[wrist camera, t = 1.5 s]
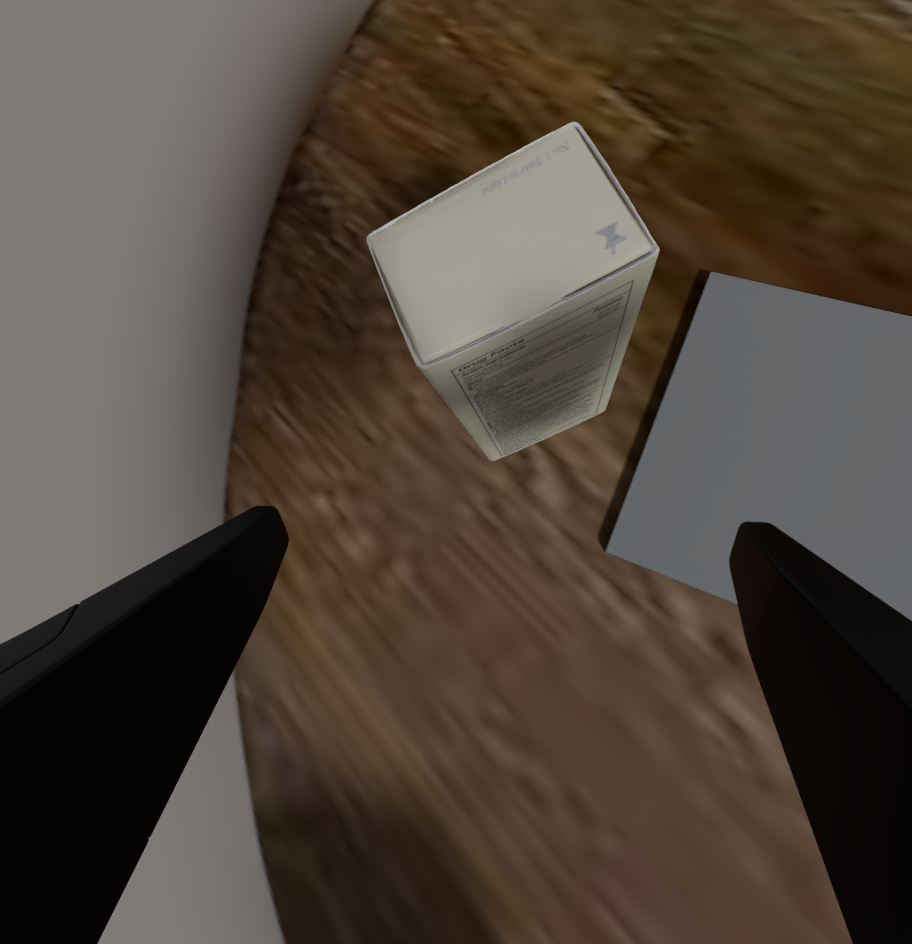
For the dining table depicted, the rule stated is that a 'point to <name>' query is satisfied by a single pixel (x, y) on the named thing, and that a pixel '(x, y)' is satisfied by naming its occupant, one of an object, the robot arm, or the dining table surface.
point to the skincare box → (520, 289)
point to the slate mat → (779, 441)
